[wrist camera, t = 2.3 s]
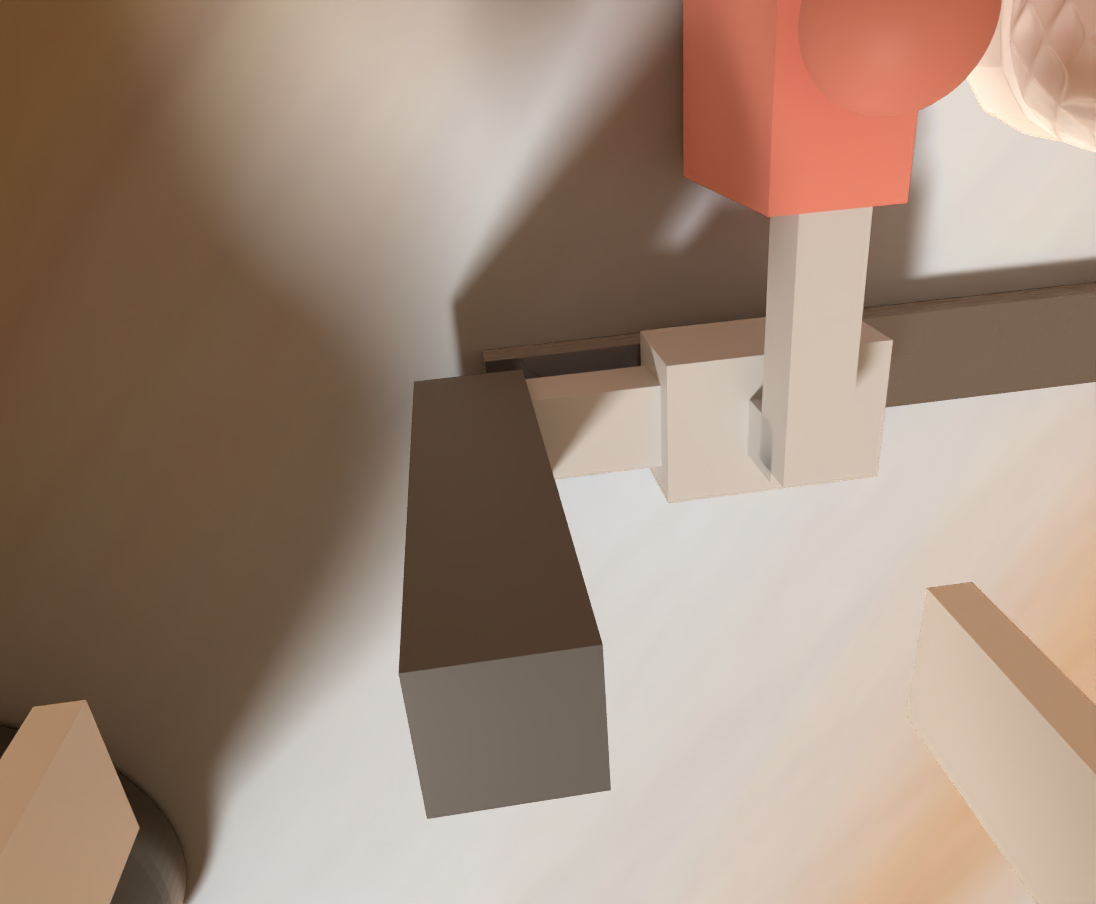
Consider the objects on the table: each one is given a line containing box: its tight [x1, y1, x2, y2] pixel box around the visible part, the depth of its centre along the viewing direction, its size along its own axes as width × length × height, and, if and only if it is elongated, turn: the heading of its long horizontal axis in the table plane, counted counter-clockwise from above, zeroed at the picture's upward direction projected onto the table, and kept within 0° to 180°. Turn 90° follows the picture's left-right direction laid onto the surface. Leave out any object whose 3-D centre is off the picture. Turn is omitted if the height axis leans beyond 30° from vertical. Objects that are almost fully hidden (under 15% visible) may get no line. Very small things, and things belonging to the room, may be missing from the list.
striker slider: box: [399, 0, 1002, 819], centre depth 17 cm, size 12×15×14 cm
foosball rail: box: [483, 282, 1096, 407], centre depth 26 cm, size 30×3×1 cm, turn 94°
